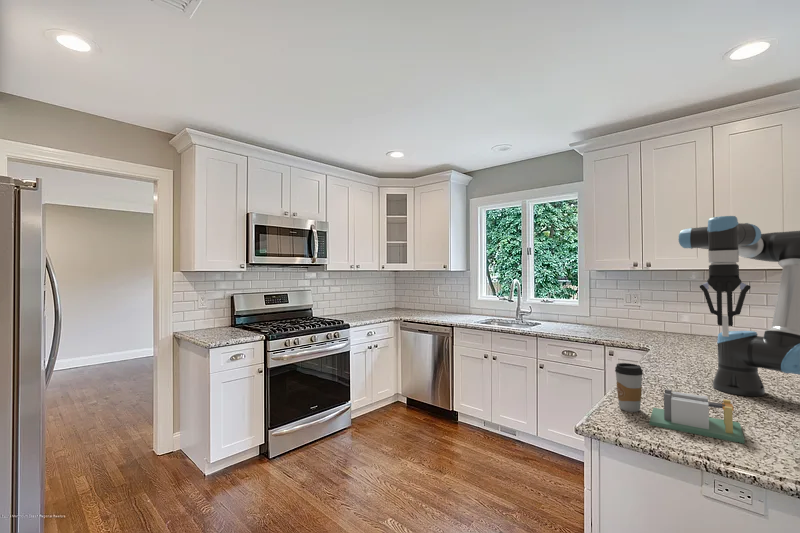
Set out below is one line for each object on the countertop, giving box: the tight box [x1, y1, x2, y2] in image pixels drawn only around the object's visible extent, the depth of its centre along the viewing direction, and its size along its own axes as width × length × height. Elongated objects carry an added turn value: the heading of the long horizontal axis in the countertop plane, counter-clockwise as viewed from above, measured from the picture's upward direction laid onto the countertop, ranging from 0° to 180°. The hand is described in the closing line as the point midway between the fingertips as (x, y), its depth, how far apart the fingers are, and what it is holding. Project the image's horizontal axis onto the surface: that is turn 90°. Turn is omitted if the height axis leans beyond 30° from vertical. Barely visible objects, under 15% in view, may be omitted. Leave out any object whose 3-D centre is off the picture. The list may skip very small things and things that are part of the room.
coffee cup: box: [614, 362, 644, 413], centre depth 132 cm, size 8×8×15 cm
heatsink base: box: [649, 388, 745, 444], centre depth 117 cm, size 22×14×9 cm, turn 52°
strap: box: [696, 400, 735, 412], centre depth 116 cm, size 16×4×1 cm, turn 52°
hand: (725, 335), depth 124 cm, fingers closed
